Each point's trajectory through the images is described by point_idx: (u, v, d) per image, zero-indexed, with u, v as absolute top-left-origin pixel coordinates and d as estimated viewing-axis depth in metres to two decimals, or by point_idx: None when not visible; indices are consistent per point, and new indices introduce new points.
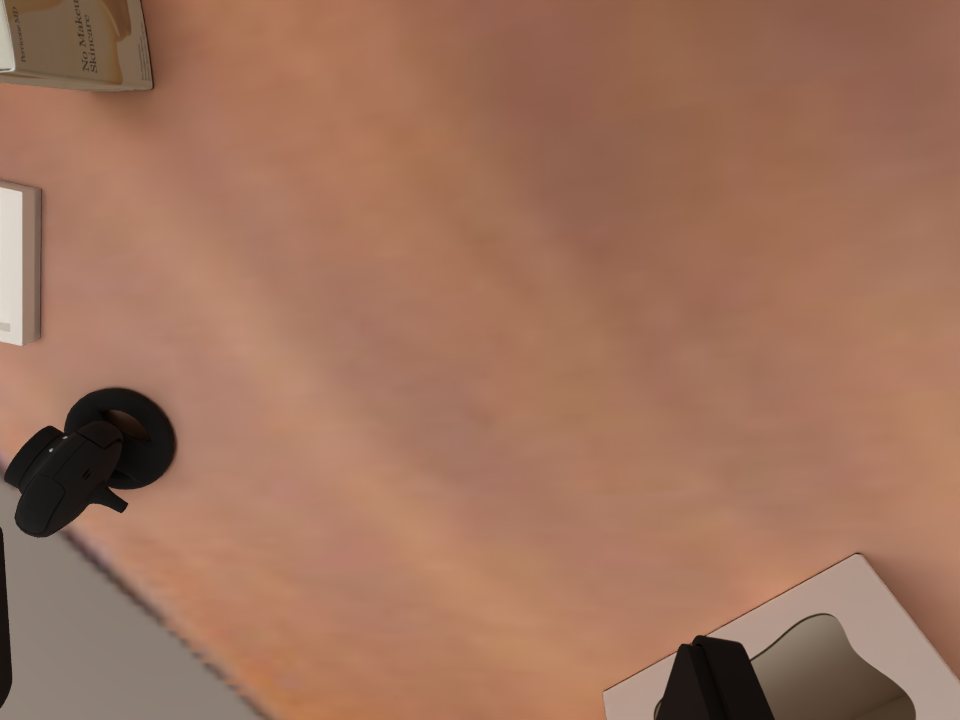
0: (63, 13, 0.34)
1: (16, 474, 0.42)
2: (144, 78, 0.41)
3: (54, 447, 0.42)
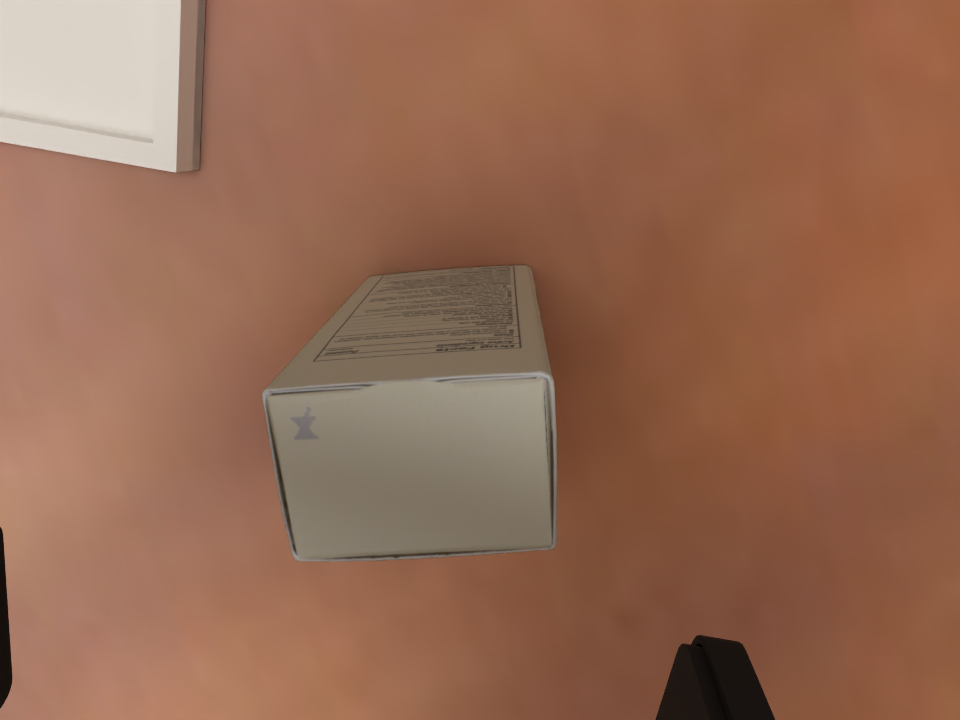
0: None
1: None
2: None
3: None
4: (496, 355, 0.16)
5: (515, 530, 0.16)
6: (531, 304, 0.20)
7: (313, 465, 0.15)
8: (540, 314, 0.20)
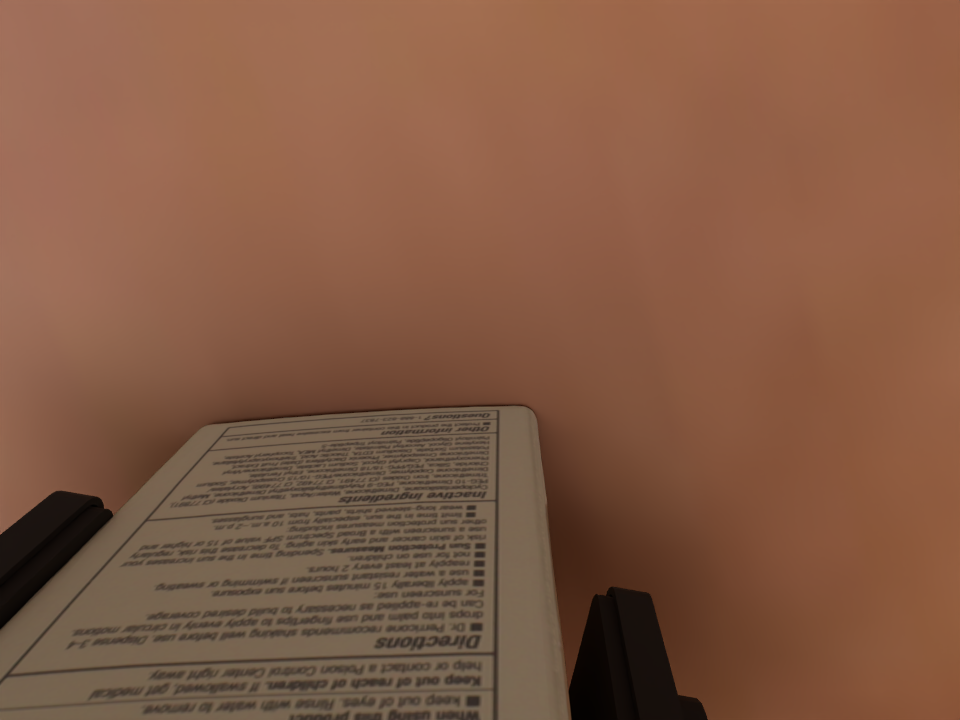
0: None
1: None
2: None
3: None
4: None
5: None
6: (539, 648, 0.07)
7: None
8: (567, 689, 0.07)
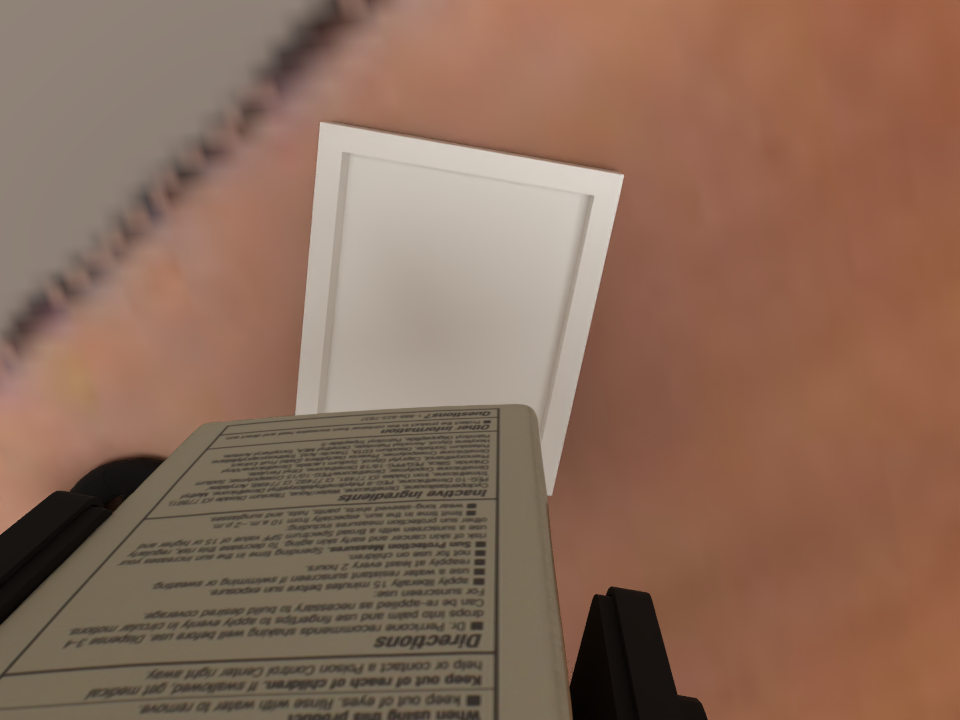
0: None
1: None
2: None
3: None
4: None
5: None
6: (540, 647, 0.07)
7: None
8: (569, 689, 0.06)
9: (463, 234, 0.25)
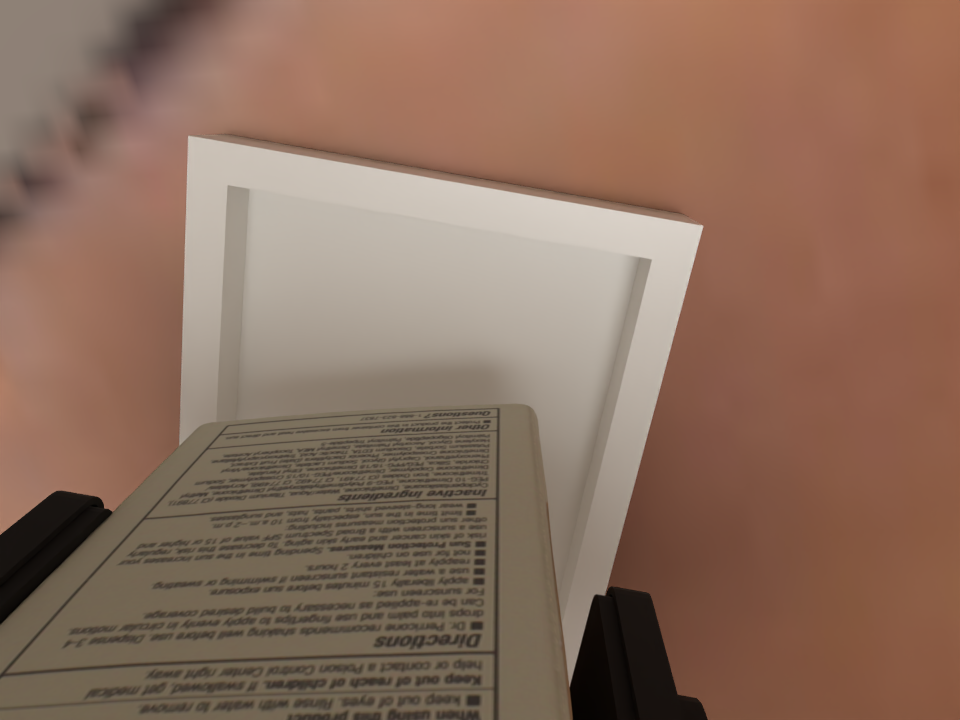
0: None
1: None
2: None
3: None
4: None
5: None
6: (540, 647, 0.07)
7: None
8: (568, 689, 0.06)
9: (435, 314, 0.16)
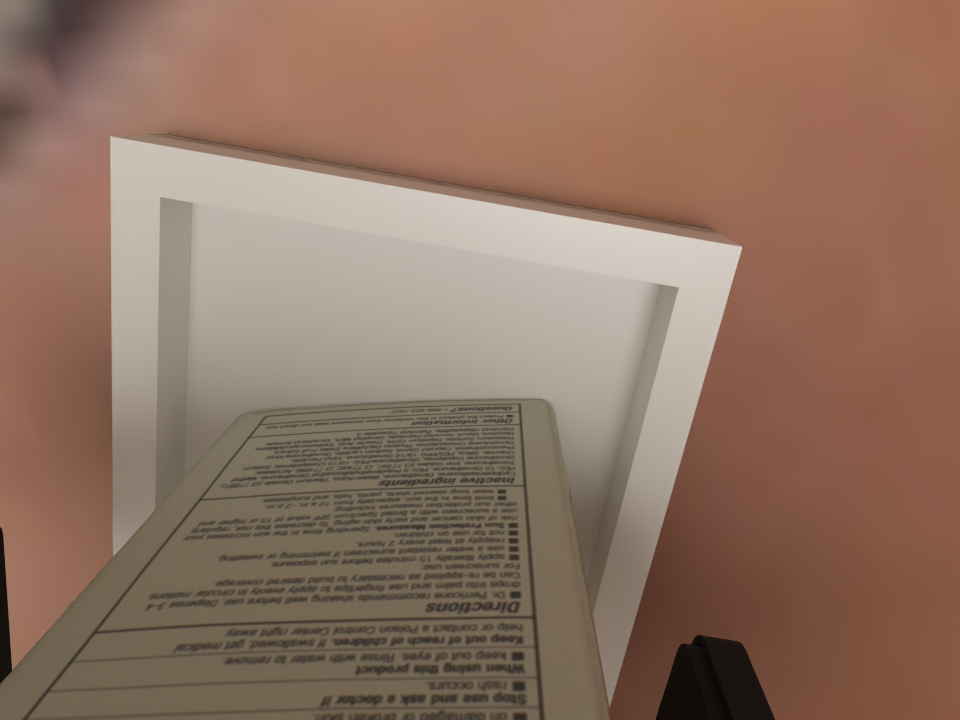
0: None
1: None
2: None
3: None
4: None
5: None
6: (573, 613, 0.08)
7: None
8: (598, 649, 0.07)
9: (417, 348, 0.13)
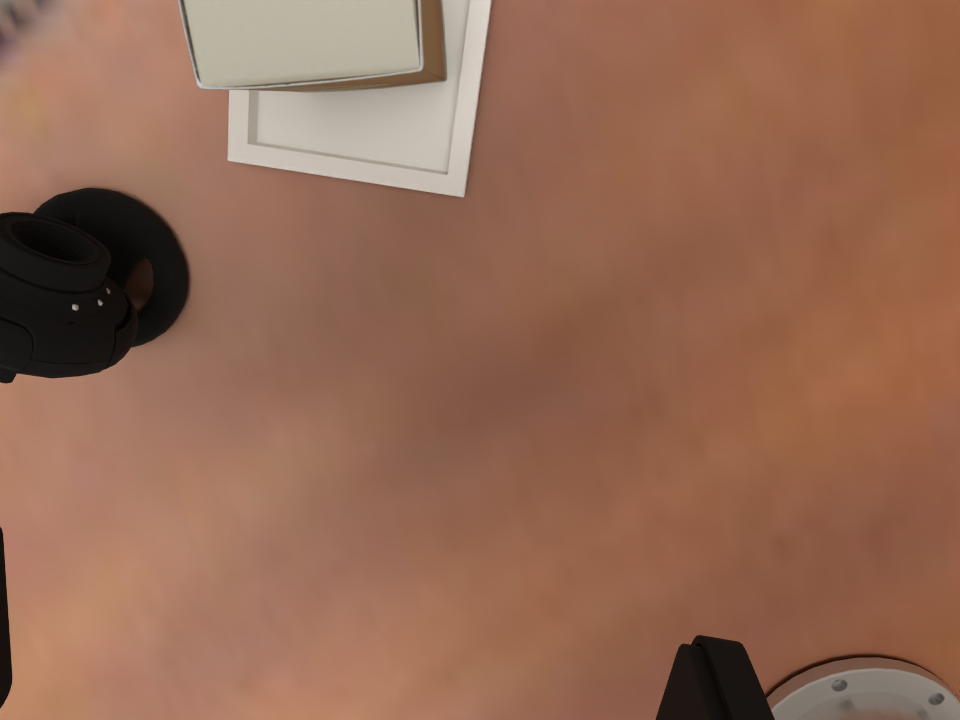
0: (339, 86, 0.22)
1: (14, 265, 0.25)
2: None
3: (81, 308, 0.27)
4: None
5: (387, 50, 0.18)
6: None
7: None
8: None
9: None
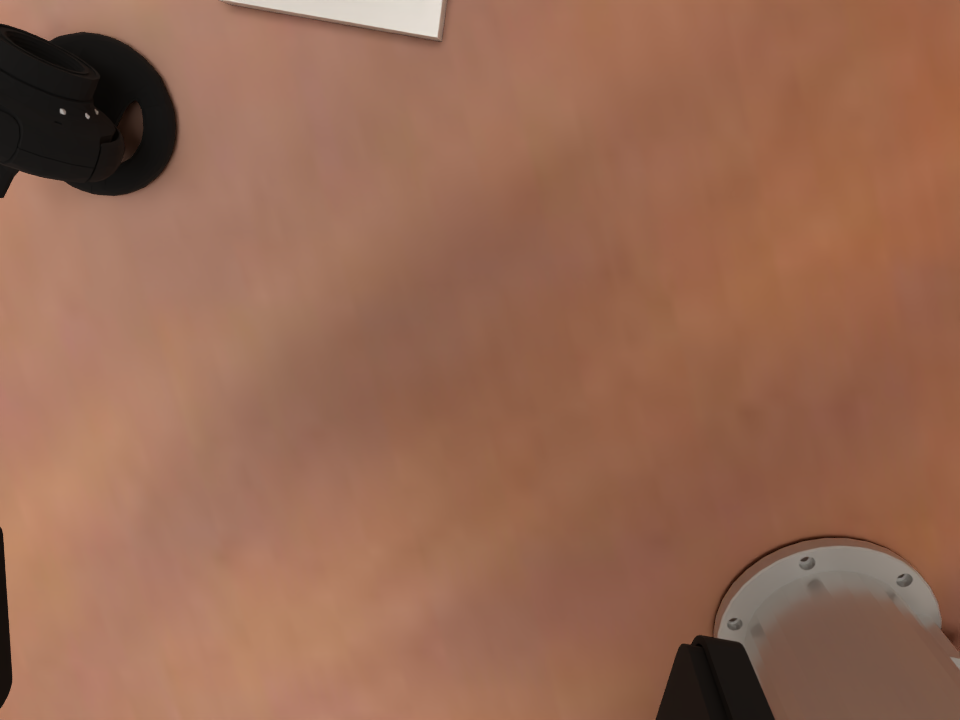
0: None
1: (6, 61, 0.27)
2: None
3: (68, 114, 0.28)
4: None
5: None
6: None
7: None
8: None
9: None
